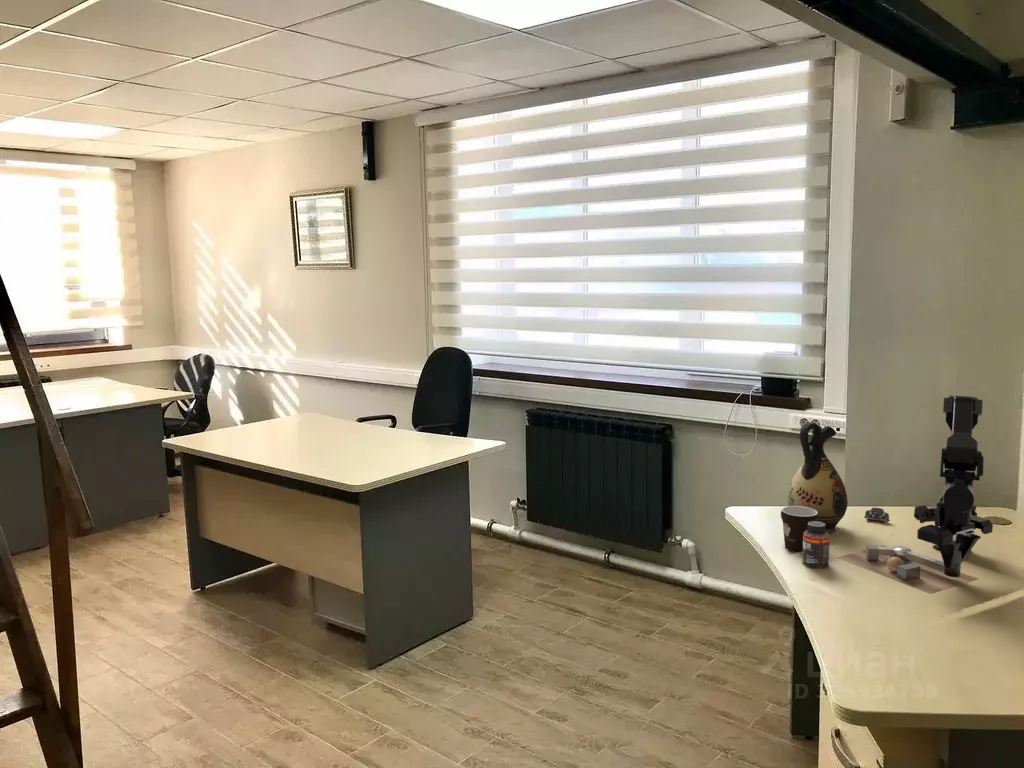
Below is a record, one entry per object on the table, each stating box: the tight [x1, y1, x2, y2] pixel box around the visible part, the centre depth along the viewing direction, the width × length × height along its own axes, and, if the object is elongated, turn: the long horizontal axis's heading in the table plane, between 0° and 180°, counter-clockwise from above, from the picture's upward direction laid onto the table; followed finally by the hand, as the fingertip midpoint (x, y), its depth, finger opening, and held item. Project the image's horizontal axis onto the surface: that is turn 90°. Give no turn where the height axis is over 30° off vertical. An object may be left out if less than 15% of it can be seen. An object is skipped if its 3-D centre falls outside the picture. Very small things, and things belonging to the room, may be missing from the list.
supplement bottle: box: [801, 521, 830, 570], centre depth 193 cm, size 6×6×11 cm
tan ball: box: [887, 557, 904, 573], centre depth 188 cm, size 4×4×4 cm
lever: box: [865, 543, 962, 577], centre depth 189 cm, size 21×9×7 cm, turn 28°
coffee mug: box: [780, 505, 818, 553], centre depth 208 cm, size 12×9×10 cm
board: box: [836, 545, 979, 595], centre depth 191 cm, size 17×25×1 cm
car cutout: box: [863, 507, 890, 524], centre depth 226 cm, size 15×7×4 cm, turn 60°
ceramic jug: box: [787, 421, 848, 534], centre depth 221 cm, size 17×15×30 cm
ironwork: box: [890, 556, 921, 581], centre depth 190 cm, size 15×5×3 cm, turn 163°
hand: (952, 566), depth 183 cm, fingers closed on lever, 3 cm apart
